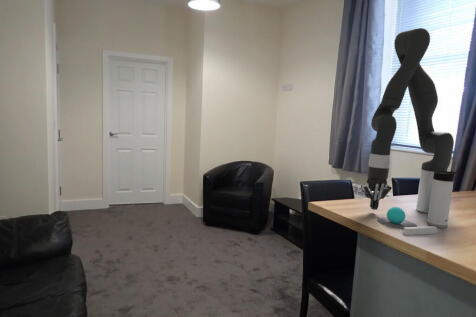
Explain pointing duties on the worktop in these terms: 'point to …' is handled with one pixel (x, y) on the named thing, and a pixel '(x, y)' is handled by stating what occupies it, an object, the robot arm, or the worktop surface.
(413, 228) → the wall
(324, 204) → the worktop surface
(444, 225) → the travel mug
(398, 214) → the ball
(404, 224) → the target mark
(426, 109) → the robot arm
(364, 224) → the worktop surface
